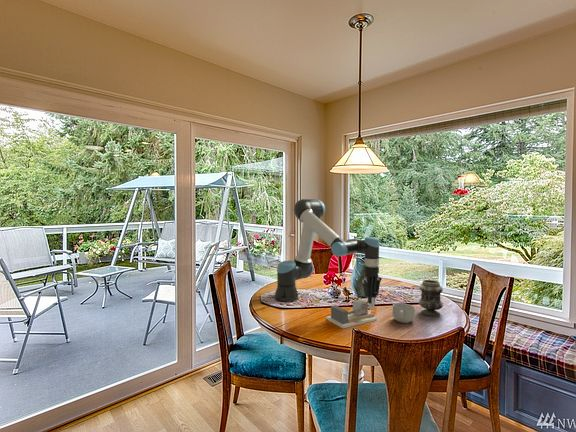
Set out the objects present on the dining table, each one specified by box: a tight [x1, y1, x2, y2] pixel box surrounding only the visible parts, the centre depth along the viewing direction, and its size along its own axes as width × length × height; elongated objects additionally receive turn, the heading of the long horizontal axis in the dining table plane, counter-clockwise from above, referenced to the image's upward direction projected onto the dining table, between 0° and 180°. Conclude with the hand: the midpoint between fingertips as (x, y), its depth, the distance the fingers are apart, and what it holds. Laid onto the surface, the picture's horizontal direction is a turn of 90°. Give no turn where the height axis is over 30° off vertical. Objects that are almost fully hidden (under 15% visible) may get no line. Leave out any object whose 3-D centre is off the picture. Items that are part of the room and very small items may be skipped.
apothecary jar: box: [418, 279, 444, 318], centre depth 169 cm, size 12×12×18 cm
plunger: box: [352, 299, 371, 316], centre depth 162 cm, size 10×5×7 cm, turn 28°
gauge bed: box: [325, 304, 377, 329], centre depth 161 cm, size 14×22×7 cm, turn 118°
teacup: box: [392, 302, 416, 324], centre depth 157 cm, size 14×11×8 cm
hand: (371, 308), depth 167 cm, fingers closed
